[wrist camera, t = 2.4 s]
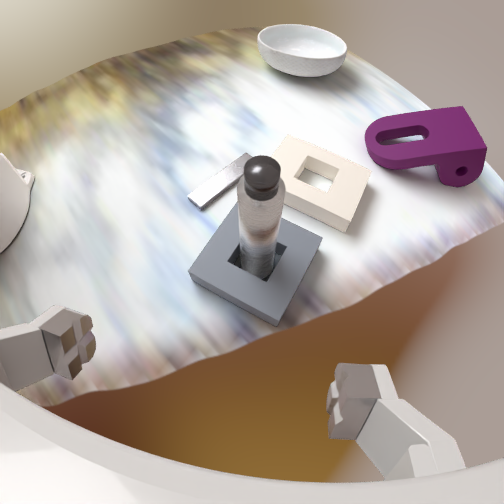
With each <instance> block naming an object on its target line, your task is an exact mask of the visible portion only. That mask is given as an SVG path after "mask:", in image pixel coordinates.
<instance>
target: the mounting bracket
mask: <svg viewBox="0 0 504 504" xmlns="http://www.w3.org/2000/svg"><path fill="white" fill-rule="evenodd" d="M414 135H422V136H423V138H424V140H417V141H411V142H404V143H398V144H392V145H381V144H379V143H380V142H382V141H384V140H390V139H396V138H402V137H408V136H414ZM365 142H366V147H367V151H368V153H369V155H370V157H371V158H372V159H373V161H374V162H376V163H377V164H379V165H380V166H383V167H385V168H389V169H396V170H401V169H408V168H414V167H421V166H427V165H434V164H435V168H436V170H437V173H438V176H439V179H440V181H441V182H442V183H443V184H444V185H448V186H453V187H462V186H466V185H468V184H470V183H472V182H473V181H475V180H476V179H477V178H478V177H479V176H480V174H481V173H482V170H483V166H484V161H485V156H486V151H487V147H486V145H485V143H484V141H483V139H482V137H481V136H480V134H479V132H478V131H477V129H476V127H475V125H474V124H473V122H472V121H471V119H470V117H469V115H468V114H467V112H466V111H465V109H464V108H463V106H459V107H450V108H441V109H433V110H425V111H418V112H411V113H404V114H398V115H392V116H386V117H383V118H380V119H378V120H376V121H374V122H373V123H372V124H371V125H370V126H369V127H368V128H367V130H366V132H365Z"/></svg>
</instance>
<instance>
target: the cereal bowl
mask: <svg viewBox="0 0 504 504" xmlns="http://www.w3.org/2000/svg"><path fill="white" fill-rule="evenodd" d="M258 48H259V52H260V55H261V56H262V58H263V59H264V60H265V61H266V62H267V63H268V64H269V65H270V66H272V67H273V68H275V69H277V70H279V71H282V72H285V73H288V74H291V75H295V76H302V77H317V76H323V75H327V74H330V73H332V72H334V71H335V70H337V69H338V68H339V67H340V66H341V65H342V64H343V62H344V60H345V57H346V53H347V46H346V44H345V42H344V41H343V40H342V39H340V38H339V37H338V36H336V35H334V34H333V33H330V32H328V31H326V30H323V29H319V28H316V27H311V26H306V25H296V24H283V25H275V26H271V27H268V28H265V29H263V30H262V31H261V32H260V33H259V34H258Z"/></svg>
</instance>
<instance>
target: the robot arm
mask: <svg viewBox="0 0 504 504" xmlns="http://www.w3.org/2000/svg"><path fill="white" fill-rule="evenodd" d="M33 182H34V175H33V174H32V173H31V172H27V171H23V170H19V169H15V168H14V167H13V166H12V164H11V163H10V162H9V161H8V159H7V158H6V157H5V156H4V154H2V153H0V253H1V252H2V251H3V250H4V249H5V248H6V247H7V246H8V245H9V244H10V243H11V242H12V240H13V239H14V238H15V236H16V235H17V233H18V231H19V230H20V228H21V226H22V224H23V222H24V220H25V217H26V215H27V212H28V208H29V202H30V189H31V187H32V184H33ZM92 327H93V324H92V320H91V317H89V316H88V315H86V314H83V313H80V312H77V311H74V310H71V309H68V308H65V307H62V306H59V305H53V306H52V307H51V308H49V309H48V310H47V311H45V312H44V313H42V314H41V315H40V316H38V317H37V318H36V319H34V320H33V321H32V322H30V323H29V324H27V323H23V324H19V325H15V326H10V327H6V328H2V329H0V504H504V458H500V459H497V460H494V461H491V462H488V463H484V464H480V465H477V466H473V467H468V468H466V467H465V464H464V461H463V458H462V456H461V453H460V451H459V448H458V446H457V443H456V441H455V439H454V438H453V437H451V436H450V435H449V434H447V433H446V432H445V431H444V430H442V429H441V428H440V427H438V426H437V425H436V424H434V423H433V422H432V421H430V420H429V419H428V418H427V417H425V416H424V415H423V414H421V413H420V412H419V411H418V410H416V409H415V408H414V407H412V406H411V405H410V404H409V403H407V402H406V401H405V400H403V399H399V398H398V395H397V393H396V390H395V387H394V384H393V382H392V379H391V377H390V374H389V371H388V369H387V367H386V366H385V365H373V364H370V365H361V364H348V363H339V364H338V365H337V367H336V370H335V381H334V382H332V383H331V385H330V388H329V391H328V396H327V412H328V413H329V414H330V415H331V416H330V419H329V421H328V431H329V438H332V439H349V440H356V442H357V443H358V445H359V446H360V447H361V448H362V450H363V451H364V452H365V454H366V455H367V456H368V457H369V458H370V460H371V461H372V462H373V463H374V465H375V466H376V467H377V468H378V470H379V471H380V472H381V473H382V474H383V476H384V477H385V479H384V480H383V481H377V482H357V483H317V482H298V481H285V480H274V479H264V478H257V477H250V476H243V475H237V474H231V473H225V472H219V471H215V470H210V469H206V468H201V467H197V466H192V465H188V464H184V463H180V462H177V461H173V460H169V459H166V458H162V457H159V456H156V455H152V454H149V453H146V452H143V451H140V450H137V449H134V448H132V447H129V446H126V445H123V444H120V443H118V442H115V441H113V440H110V439H107V438H105V437H102V436H100V435H98V434H95V433H93V432H91V431H88V430H86V429H84V428H82V427H80V426H77V425H75V424H73V423H71V422H69V421H67V420H65V419H63V418H61V417H59V416H57V415H55V414H53V413H51V412H49V411H47V410H46V409H44V408H42V407H40V406H38V405H37V404H35V403H33V402H31V401H30V400H28V399H26V398H24V397H23V396H21V395H19V394H18V393H16V391H18V390H20V389H22V388H24V387H27V386H29V385H31V384H33V383H35V382H38V381H40V380H42V379H44V378H46V377H48V376H51V375H53V374H54V373H56V374H58V375H61V376H63V377H65V378H68V379H71V380H73V379H74V378H75V377H76V376H77V374H78V373H79V372H80V371H81V370H82V364H84V363H87V362H89V361H90V360H91V358H92V357H93V355H94V352H95V350H96V341H95V337H94V335H93V334H92V332H91V329H92Z"/></svg>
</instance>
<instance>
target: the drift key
mask: <svg viewBox="0 0 504 504" xmlns="http://www.w3.org/2000/svg"><path fill="white" fill-rule="evenodd" d="M250 158H252V156H250V155H249V154H247V153H245V154H243V155H242V156H241V157H239V158H238V159H236V160H235V161H234V162H232V163H231V164H229V165H228V166H227V167H225V168H224V169H223V170H221V171H220V172H218V173H217V174H216V175H214V176H213V177H212V178H210V179H209V180H208V181H206V182H205V183H204V184H202V185H201V186H200V187H198V188H197V189H196V190H195V191H193V192H192V193H191V194H189V195H188V199H189V200H190V201H191V202H192V203H193V204H195V205H196V206H197V207H198V208H199V209H200V210H203V209H204V208H205V207H206V206H207V205H209V204H210V203H211V202H212V201H214V200H215V199H216V198H218V197H219V196H220V195H221V194H223V193H224V192H225V191H226V190H228V189H229V188H230V187H232V186H233V185H234V184H235V183H237V182H238V181H239V180H240V178H241V177H242V176H243V175H244V165H245V163H246V162H247V161H248V160H249V159H250Z"/></svg>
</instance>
